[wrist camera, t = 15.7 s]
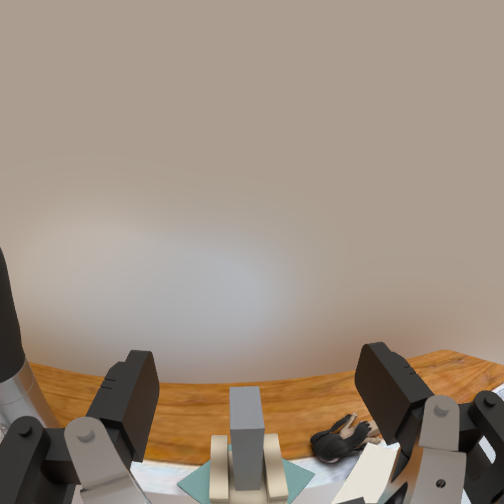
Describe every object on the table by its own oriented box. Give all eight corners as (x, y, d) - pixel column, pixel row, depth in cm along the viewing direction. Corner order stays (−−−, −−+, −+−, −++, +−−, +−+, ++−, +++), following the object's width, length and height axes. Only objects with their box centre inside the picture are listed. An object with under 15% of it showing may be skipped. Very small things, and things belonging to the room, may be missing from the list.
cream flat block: (375, 562, 11) (389, 556, 10) (303, 539, 17) (308, 531, 16) (418, 472, 23) (430, 458, 22) (360, 457, 29) (367, 442, 28)
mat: (255, 539, 17) (255, 538, 17) (177, 484, 25) (176, 483, 25) (314, 474, 27) (315, 473, 27) (240, 437, 35) (240, 435, 35)
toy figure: (368, 409, 40) (300, 445, 33) (381, 385, 38) (311, 423, 31) (394, 433, 34) (327, 478, 27) (411, 410, 32) (342, 458, 25)
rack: (286, 509, 22) (291, 494, 20) (211, 512, 21) (206, 498, 20) (276, 454, 31) (279, 433, 30) (212, 456, 31) (209, 435, 29)
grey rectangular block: (260, 489, 24) (264, 428, 21) (235, 490, 24) (230, 429, 20) (256, 455, 30) (258, 386, 26) (234, 456, 30) (229, 387, 26)
